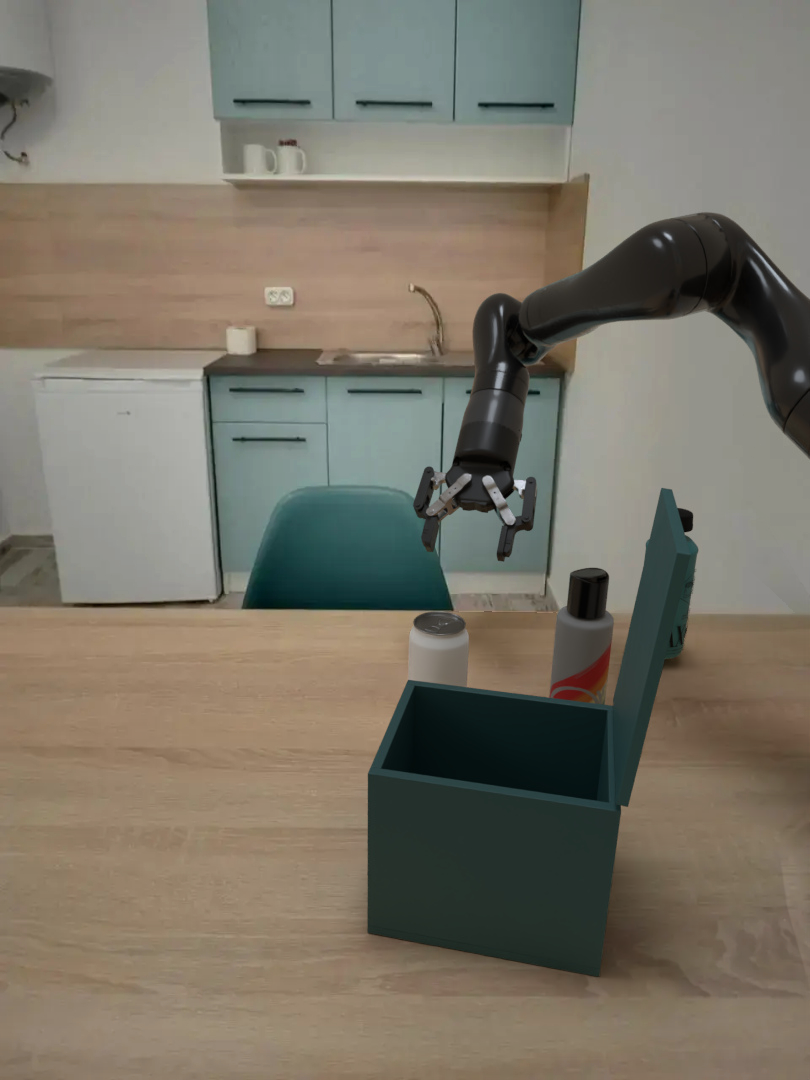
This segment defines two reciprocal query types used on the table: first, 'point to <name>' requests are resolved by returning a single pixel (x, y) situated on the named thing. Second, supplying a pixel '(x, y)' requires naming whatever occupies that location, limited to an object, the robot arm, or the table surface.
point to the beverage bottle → (683, 590)
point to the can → (439, 649)
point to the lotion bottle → (583, 640)
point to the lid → (648, 640)
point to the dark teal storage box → (494, 825)
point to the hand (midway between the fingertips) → (464, 554)
